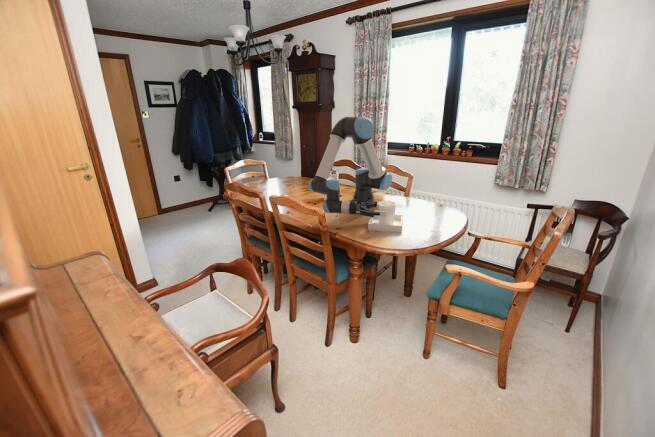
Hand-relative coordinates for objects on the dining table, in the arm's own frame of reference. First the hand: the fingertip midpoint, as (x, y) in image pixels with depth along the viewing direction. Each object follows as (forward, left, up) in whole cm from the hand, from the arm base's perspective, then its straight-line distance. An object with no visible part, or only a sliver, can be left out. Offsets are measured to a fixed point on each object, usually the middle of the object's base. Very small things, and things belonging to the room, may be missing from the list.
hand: (387, 209), depth 172 cm
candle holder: (0, 0, -9) cm, 9 cm away
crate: (0, 0, -9) cm, 10 cm away
